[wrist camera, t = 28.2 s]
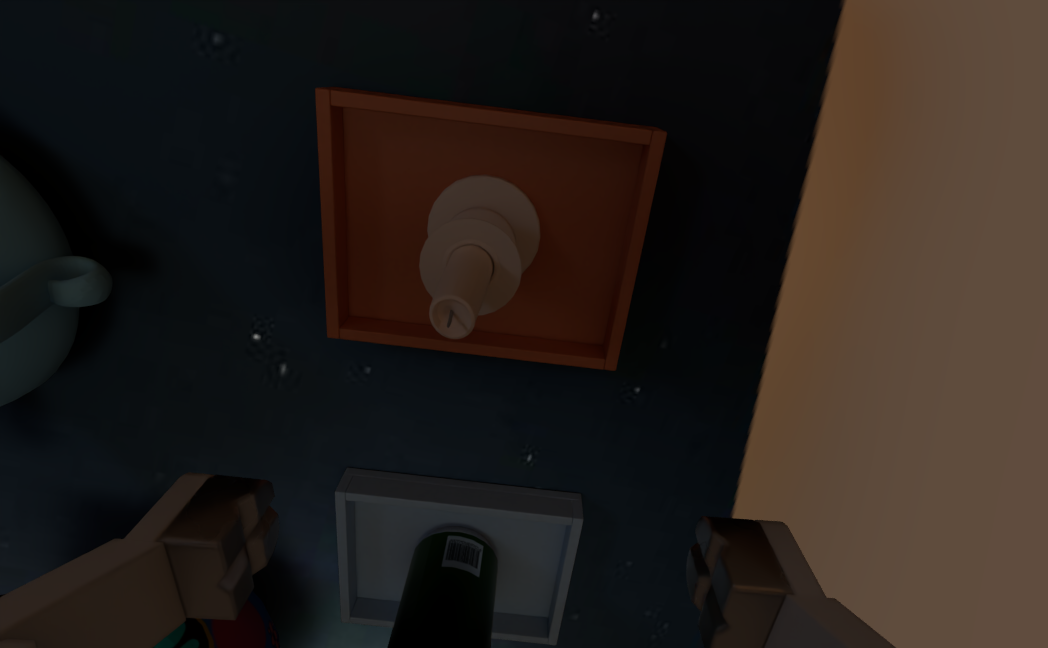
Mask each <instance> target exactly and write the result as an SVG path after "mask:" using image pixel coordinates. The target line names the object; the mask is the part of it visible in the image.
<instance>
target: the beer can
mask: <svg viewBox="0 0 1048 648" xmlns="http://www.w3.org/2000/svg"><path fill="white" fill-rule="evenodd" d="M497 573H498V559H497V557H496V555H495V552H494V550H493V548H492V546H491V544H490V542H489V541H488V540H487V539H486V538H485V537H484V536H483V535H482V534H480V533H479V532H477V531H475V530H473V529H470V528H466V527H462V526H446V527H441V528H437V529H436V530H434V531H432V532H430V533H428V535H427V536H426V537H425V538H424V539H423V540H422V541H421V542H420V543H419V544H418V545H417V547H416V548H415V550H414V553H413V556H412V560H411V564H410V567H409V571H408V575H407V578H406V582H405V586H404V589H403V593H402V597H401V600H400V604H399V608H398V611H397V615H396V619H395V622H394V626H393V630H392V633H391V637H390V641H389V644H388V648H491V637H492V627H493V616H494V605H495V595H496V584H497Z"/></svg>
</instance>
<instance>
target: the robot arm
mask: <svg viewBox="0 0 1048 648" xmlns="http://www.w3.org/2000/svg"><path fill="white" fill-rule="evenodd" d="M274 497H275V495H274V490H273V486H272V483H271V482H269V481H267V480H260V479H251V478H242V477H233V476H224V475H209V474H200V473H191V472H189V473H187V474H185V475H183V476H181V477H180V478H179V479H178V480H177V481H176V482H175V483H174V484H173V485H172V486H171V487H170V488H169V490H168V491H167V492H166V493H165V494H164V495H163V496H162V497H161V498H160V500H159V501H158V502H157V503H156V504H155V505H154V506H153V507H152V508H151V509H150V511H149V512H148V513H147V514H146V515H145V516H144V517H143V518H142V519H141V520H140V522H139V523H138V524H137V525H136V526H135V527H134V528H133V529H132V530H131V531H130V533H129V534H128V535H127V536H126V537H125V538H124V539H113V540H111V541H109V542H107V543H105V544H103V545H101V546H99V547H97V548H96V549H94V550H92V551H90V552H88V553H86V554H84V555H82V556H80V557H78V558H76V559H74V560H72V561H70V562H68V563H66V564H64V565H62V566H60V567H58V568H56V569H54V570H52V571H51V572H49V573H47V574H45V575H43V576H41V577H39V578H37V579H35V580H33V581H31V582H29V583H27V584H25V585H23V586H21V587H19V588H17V589H15V590H13V591H11V592H9V593H8V594H6V595H4V596H2V597H0V648H153V647H154V646H155V645H156V644H158V643H159V642H160V641H161V640H163V639H164V638H165V637H166V636H168V635H169V634H170V633H171V632H173V631H174V630H175V629H176V628H178V627H179V626H180V625H181V624H183V623H184V622H185V621H186V618H200V619H219V620H236V618H237V617H238V615H239V613H240V611H241V610H242V608H243V606H244V604H245V603H246V601H247V599H248V597H249V596H250V594H251V592H252V590H253V589H254V582H253V577H252V575H253V574H255V573H256V572H258V571H259V570H261V569H262V568H264V567H265V566H266V565H267V564H268V562H269V560H270V558H271V556H272V554H273V552H274V549H275V546H276V543H277V539H278V535H279V519H278V514H277V513H276V512H275V511H274V510H273V509H272V508H271V507H270V506H269V505H270V503H271V501H272V500H273V498H274ZM695 532H696V536H697V539H698V543H696V544H695V545H694V546H693V547H691V548H690V551H689V555H688V559H687V573H686V577H687V584H688V590H689V594H690V598H691V601H692V602H693V603H694V604H695V605H696V606H697V607H698V609H699V610H700V611H701V615H700V618H699V621H698V627H699V630H700V634H701V638H702V641H703V645H704V648H895V647H894V646H893V645H892V644H890V642H888V641H887V640H886V639H885V638H883V637H882V636H880V634H878V633H877V632H876V631H875V630H873V629H872V628H871V627H870V626H868V625H867V624H866V623H865V622H863V621H862V620H861V619H860V618H858V617H857V616H856V615H855V614H854V613H852V612H851V611H850V610H849V609H847V608H846V607H845V606H844V605H842V604H841V603H840V602H839V601H837V600H836V599H834V598H826V596H825V594H824V592H823V590H822V588H821V587H820V585H819V583H818V581H817V579H816V577H815V576H814V574H813V572H812V570H811V568H810V567H809V565H808V563H807V561H806V559H805V557H804V555H803V554H802V552H801V550H800V548H799V546H798V544H797V543H796V541H795V539H794V537H793V535H792V533H791V532H790V530H789V528H788V526H787V525H785V524H784V523H783V522H778V521H763V520H755V521H754V520H748V519H734V518H721V517H707V516H702V517H701V518H700V519H699V521H698V523H697V526H696V530H695Z"/></svg>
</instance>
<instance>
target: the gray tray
mask: <svg viewBox="0 0 1048 648" xmlns="http://www.w3.org/2000/svg"><path fill="white" fill-rule="evenodd" d="M335 506H336V526H337V547H338V567H339V587H340V608H341V622H345V623H355V624H364V625H374V626H383V627H392V628H393V626H394V622H395V619H396V615H397V611H398V608H399V604H400V600H401V597H402V593H403V589H404V586H405V582H406V578H407V575H408V571H409V567H410V564H411V560H412V556H413V553H414V550H415V548H416V547H417V545H418V544H419V543H420V542H421V541H422V540H423V539H424V538H425V537H426V536H427V535H428V533H430V532H432V531H434V530H436V529H437V528H441V527H446V526H462V527H466V528H470V529H473V530H475V531H477V532H479V533H480V534H482V535H483V536H484V537H485V538H486V539H487V540H488V541H489V542H490V544H491V546H492V548H493V550H494V552H495V555H496V557H497V559H498V573H497V584H496V595H495V605H494V616H493V627H492V637H491V638H495V639H504V640H514V641H523V642H532V643H542V644H550V645H556V643H557V639H558V634H559V629H560V625H561V620H562V616H563V611H564V606H565V602H566V597H567V593H568V588H569V583H570V579H571V574H572V570H573V565H574V560H575V556H576V551H577V547H578V542H579V537H580V533H581V528H582V524H583V510H582V499H581V494H578V493H569V492H560V491H551V490H542V489H534V488H525V487H516V486H507V485H498V484H489V483H480V482H471V481H462V480H454V479H445V478H436V477H427V476H418V475H409V474H400V473H391V472H383V471H374V470H365V469H356V468H347V469H346V471H345V473H344V475H343V476H342V478H341V480H340V482H339V484H338V486H337V488H336V490H335Z"/></svg>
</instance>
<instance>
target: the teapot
mask: <svg viewBox="0 0 1048 648" xmlns="http://www.w3.org/2000/svg"><path fill="white" fill-rule="evenodd" d="M112 284H113V279H112V277H111V275H110V274H109V272H108V271H107V270H106V269H105V267H103V266H102V265H101V264H100V263H98V262H96V261H94V260H92V259H89V258H86V257H81V256H73V254H72V251H71V248H70V246H69V243H68V240H67V238H66V236H65V234H64V232H63V230H62V228H61V226H60V224H59V222H58V220H57V218H56V217H55V215H54V214H53V212H52V211H51V209H50V207H49V206H48V204H47V203H46V202H45V201H44V199H43V198H42V197H41V195H40V194H39V193H38V191H37V190H36V189H35V188H34V187H33V186H32V185H31V183H30V182H29V181H28V180H27V179H26V178H25V177H24V176H23V175H22V174H21V173H20V172H19V171H18V170H17V169H16V168H15V167H14V166H13V165H11V164H10V163H9V162H8V161H7V160H6V159H5V158H3V157H2V156H1V155H0V406H2V405H5V404H7V403H10V402H12V401H15V400H16V399H18V398H20V397H22V396H23V395H25V394H27V393H29V392H30V391H32V390H34V389H35V388H37V387H39V386H40V385H42V384H43V383H45V382H46V381H47V380H48V379H49V378H50V377H51V376H52V375H53V374H54V373H55V372H56V371H57V369H58V368H59V367H60V365H61V364H62V362H63V361H64V360H65V358H66V357H67V355H68V354H69V351H70V349H71V347H72V345H73V343H74V340H75V336H76V332H77V328H78V321H79V307H85V306H91V305H95V304H99V303H101V302H103V301H105V300H106V299H107V298H108V296H109V295H110V293H111V290H112Z"/></svg>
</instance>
